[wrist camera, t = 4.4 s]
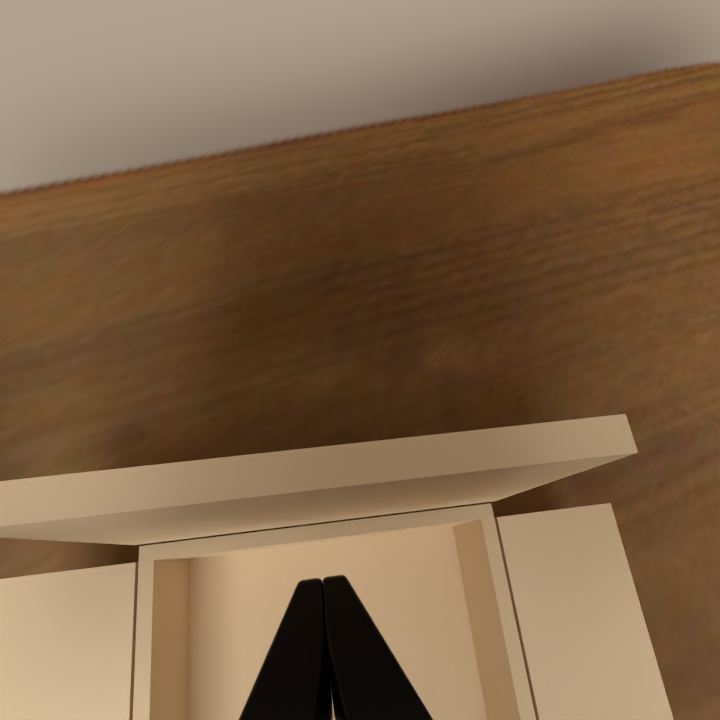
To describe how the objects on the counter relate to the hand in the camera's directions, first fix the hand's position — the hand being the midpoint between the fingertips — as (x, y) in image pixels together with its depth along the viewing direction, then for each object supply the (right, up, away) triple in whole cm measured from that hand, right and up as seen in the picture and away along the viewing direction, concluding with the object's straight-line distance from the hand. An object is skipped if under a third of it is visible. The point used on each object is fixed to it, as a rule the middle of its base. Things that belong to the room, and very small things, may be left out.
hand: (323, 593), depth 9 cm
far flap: (0, 0, +5) cm, 5 cm away
